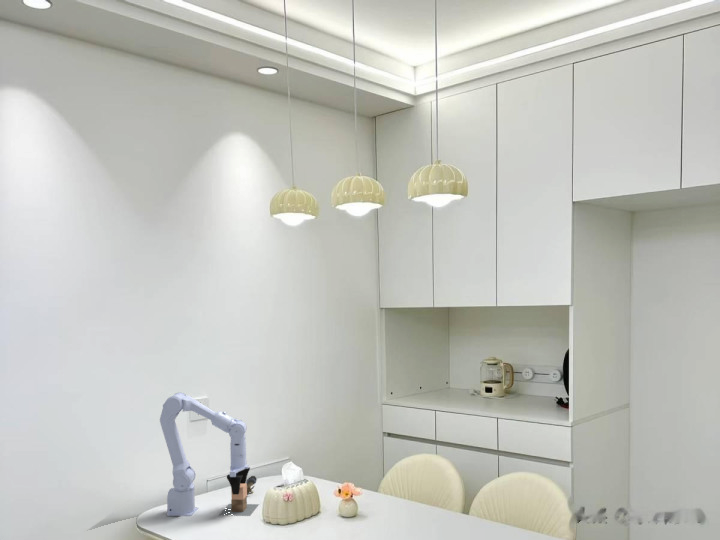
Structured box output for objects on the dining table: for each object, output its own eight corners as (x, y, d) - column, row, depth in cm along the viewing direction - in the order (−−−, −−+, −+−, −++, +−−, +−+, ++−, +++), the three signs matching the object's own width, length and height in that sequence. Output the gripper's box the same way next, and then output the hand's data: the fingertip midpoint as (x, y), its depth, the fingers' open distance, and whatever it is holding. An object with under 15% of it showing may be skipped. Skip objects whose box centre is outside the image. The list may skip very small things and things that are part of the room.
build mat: (218, 516, 222) (218, 515, 222) (228, 504, 234) (228, 503, 234) (250, 516, 220) (250, 515, 220) (259, 505, 232) (259, 504, 232)
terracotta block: (231, 499, 225) (231, 487, 225) (235, 495, 230) (235, 483, 230) (243, 499, 225) (243, 487, 225) (247, 495, 229) (246, 483, 229)
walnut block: (231, 511, 225) (231, 499, 225) (235, 507, 229) (235, 495, 230) (243, 511, 225) (243, 499, 225) (246, 507, 229) (246, 495, 229)
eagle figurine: (260, 493, 242) (261, 482, 251) (249, 480, 241) (251, 469, 250) (244, 504, 242) (245, 493, 251) (234, 491, 241) (235, 480, 250)
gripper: (242, 459, 220) (243, 497, 220) (254, 449, 235) (254, 484, 234) (224, 459, 221) (224, 497, 220) (236, 449, 235) (237, 484, 235)
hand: (238, 490), depth 227 cm, fingers open, 7 cm apart
